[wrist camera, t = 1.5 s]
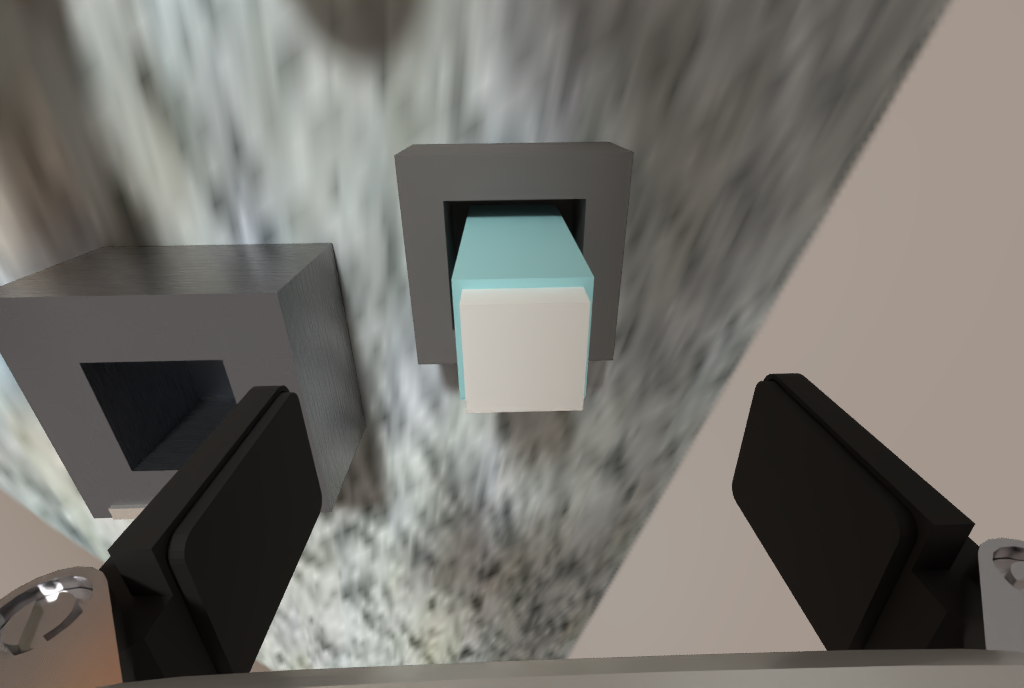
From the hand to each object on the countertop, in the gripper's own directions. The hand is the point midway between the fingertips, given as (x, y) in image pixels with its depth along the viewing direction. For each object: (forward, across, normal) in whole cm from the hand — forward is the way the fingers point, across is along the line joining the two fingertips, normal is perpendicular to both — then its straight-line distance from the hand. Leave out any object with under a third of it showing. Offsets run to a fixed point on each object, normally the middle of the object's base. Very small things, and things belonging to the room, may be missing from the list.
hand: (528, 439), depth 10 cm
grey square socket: (+13, 0, -1) cm, 13 cm away
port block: (+13, +13, +4) cm, 19 cm away
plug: (+12, 0, -1) cm, 12 cm away
